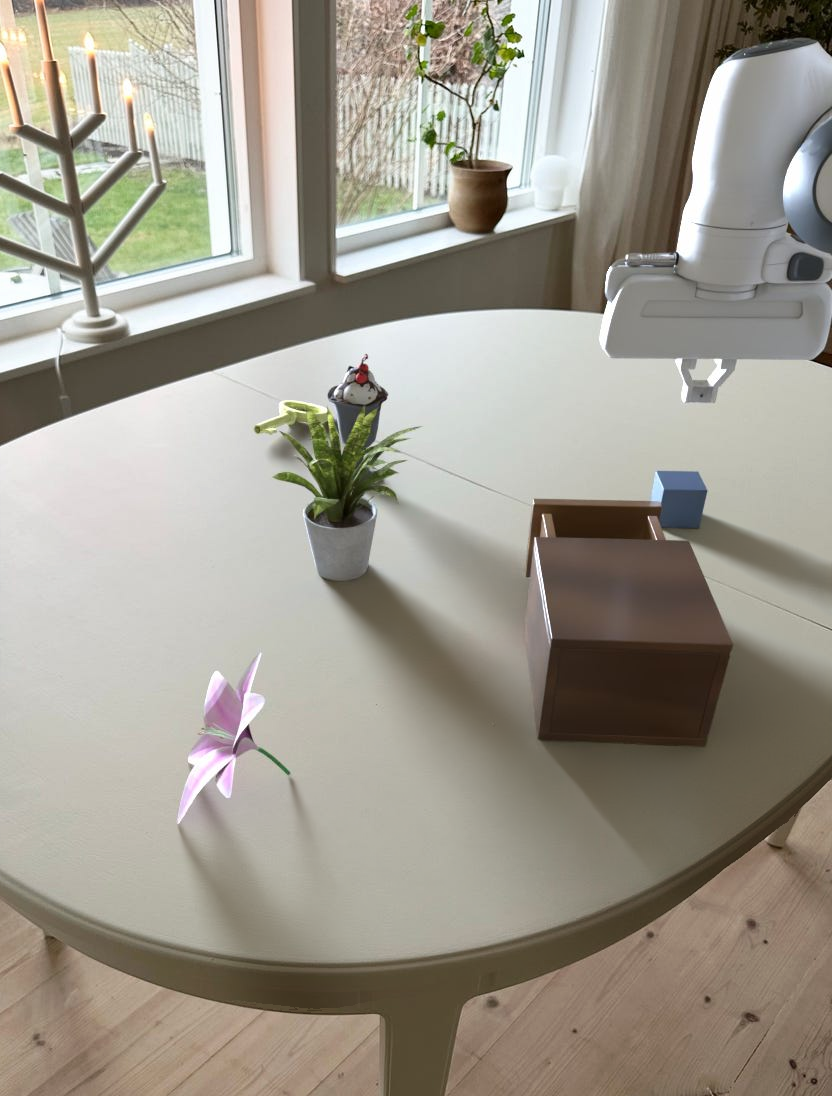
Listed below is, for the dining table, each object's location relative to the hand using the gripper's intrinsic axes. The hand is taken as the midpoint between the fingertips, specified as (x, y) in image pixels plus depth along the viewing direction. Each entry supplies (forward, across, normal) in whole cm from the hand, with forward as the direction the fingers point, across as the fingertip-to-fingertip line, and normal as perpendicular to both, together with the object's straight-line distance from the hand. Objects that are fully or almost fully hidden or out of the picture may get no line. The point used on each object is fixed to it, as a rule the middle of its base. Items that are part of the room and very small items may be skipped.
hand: (697, 401), depth 93 cm
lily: (+13, -40, -42) cm, 59 cm away
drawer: (+12, -11, -17) cm, 24 cm away
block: (+13, 0, 0) cm, 13 cm away
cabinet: (+13, -11, -29) cm, 33 cm away
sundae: (+13, -34, +8) cm, 37 cm away
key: (+13, -44, +23) cm, 51 cm away
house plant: (+13, -34, -13) cm, 39 cm away
